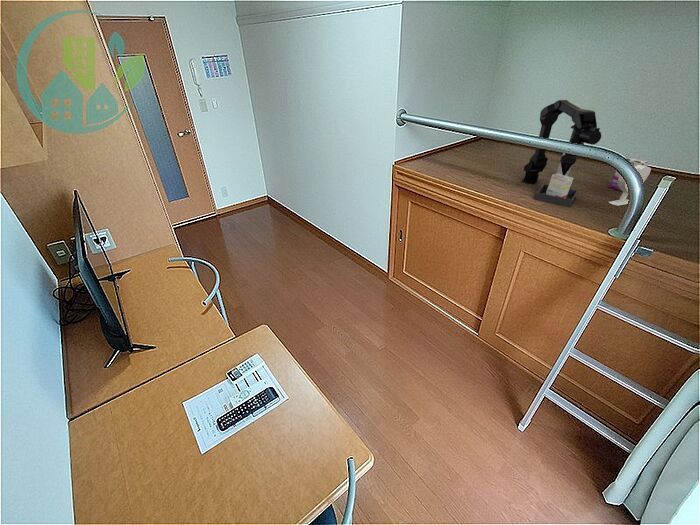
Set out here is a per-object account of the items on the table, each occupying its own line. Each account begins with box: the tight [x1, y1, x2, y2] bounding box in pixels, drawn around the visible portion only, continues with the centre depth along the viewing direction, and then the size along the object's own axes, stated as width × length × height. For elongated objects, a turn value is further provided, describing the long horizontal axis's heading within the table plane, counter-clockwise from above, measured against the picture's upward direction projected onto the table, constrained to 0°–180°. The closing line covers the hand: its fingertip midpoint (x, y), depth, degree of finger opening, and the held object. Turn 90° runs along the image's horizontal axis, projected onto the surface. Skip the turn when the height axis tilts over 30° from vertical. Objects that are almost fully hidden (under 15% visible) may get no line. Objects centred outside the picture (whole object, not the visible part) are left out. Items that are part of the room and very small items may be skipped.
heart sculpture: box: [608, 165, 652, 207], centre depth 157 cm, size 16×5×18 cm, turn 110°
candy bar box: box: [608, 156, 650, 192], centre depth 171 cm, size 11×5×16 cm, turn 21°
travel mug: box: [555, 152, 572, 176], centre depth 186 cm, size 6×7×20 cm
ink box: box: [545, 172, 574, 199], centre depth 164 cm, size 9×5×12 cm, turn 25°
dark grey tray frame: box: [534, 183, 579, 208], centre depth 166 cm, size 16×16×4 cm
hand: (565, 173), depth 159 cm, fingers open, 9 cm apart
